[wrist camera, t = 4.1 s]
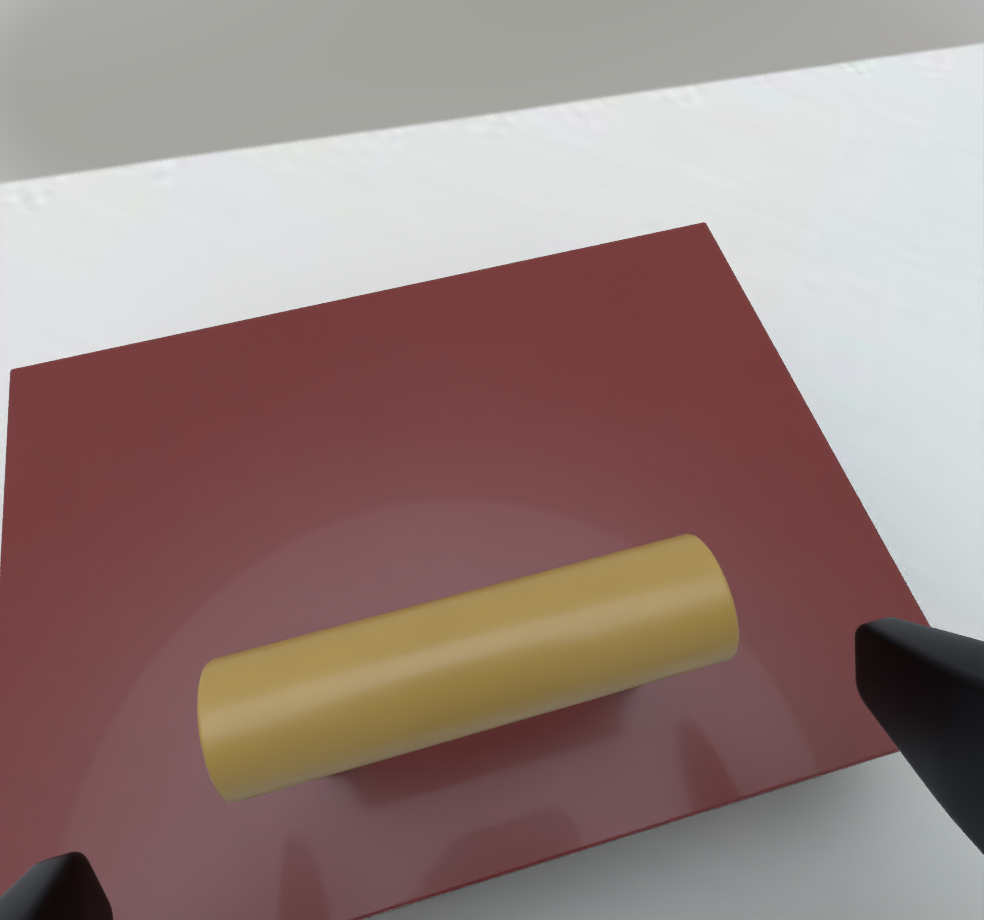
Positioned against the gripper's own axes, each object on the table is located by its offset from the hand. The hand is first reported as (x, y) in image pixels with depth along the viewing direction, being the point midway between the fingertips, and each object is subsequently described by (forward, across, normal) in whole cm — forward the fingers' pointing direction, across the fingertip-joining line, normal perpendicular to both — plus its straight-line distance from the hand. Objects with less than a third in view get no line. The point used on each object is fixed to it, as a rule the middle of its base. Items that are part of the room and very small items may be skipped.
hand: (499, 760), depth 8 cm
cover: (+7, 0, 0) cm, 7 cm away
